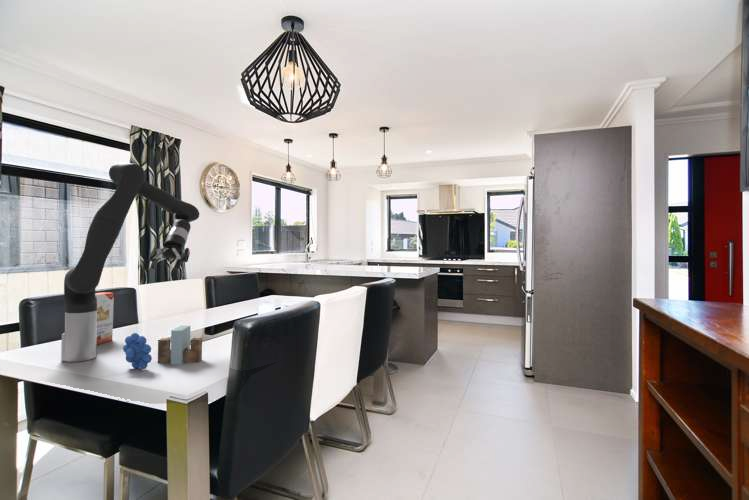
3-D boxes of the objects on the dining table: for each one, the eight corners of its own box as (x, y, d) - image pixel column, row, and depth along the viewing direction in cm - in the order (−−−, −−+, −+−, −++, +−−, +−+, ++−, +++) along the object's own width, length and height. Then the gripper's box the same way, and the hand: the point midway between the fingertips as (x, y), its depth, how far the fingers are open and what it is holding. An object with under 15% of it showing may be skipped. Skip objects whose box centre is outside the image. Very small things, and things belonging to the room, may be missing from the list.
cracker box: (83, 348, 152) (84, 296, 152) (70, 347, 154) (71, 295, 154) (113, 340, 166) (114, 292, 166) (102, 339, 167) (103, 291, 167)
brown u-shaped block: (157, 362, 136) (158, 340, 136) (161, 360, 139) (161, 338, 139) (199, 362, 138) (199, 340, 138) (201, 359, 141) (202, 338, 141)
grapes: (111, 370, 127) (112, 334, 127) (130, 364, 133) (131, 330, 133) (138, 374, 123) (139, 337, 123) (156, 368, 130) (157, 333, 130)
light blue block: (170, 364, 134) (171, 330, 134) (179, 357, 143) (180, 325, 143) (181, 364, 135) (181, 330, 135) (189, 357, 143) (190, 325, 143)
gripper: (156, 232, 160) (142, 261, 149) (191, 233, 162) (181, 262, 151) (161, 245, 166) (148, 274, 154) (195, 246, 167) (185, 274, 156)
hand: (164, 268), depth 153 cm, fingers open, 8 cm apart
